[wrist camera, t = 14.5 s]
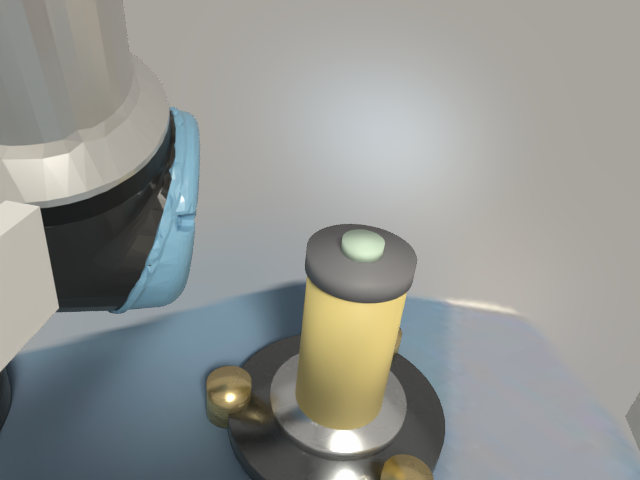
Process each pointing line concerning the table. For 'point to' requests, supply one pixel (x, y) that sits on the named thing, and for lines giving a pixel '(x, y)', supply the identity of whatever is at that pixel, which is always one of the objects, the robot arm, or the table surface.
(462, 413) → the table surface
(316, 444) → the tribrach
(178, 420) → the table surface
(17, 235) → the robot arm
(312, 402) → the yellow battery cell
